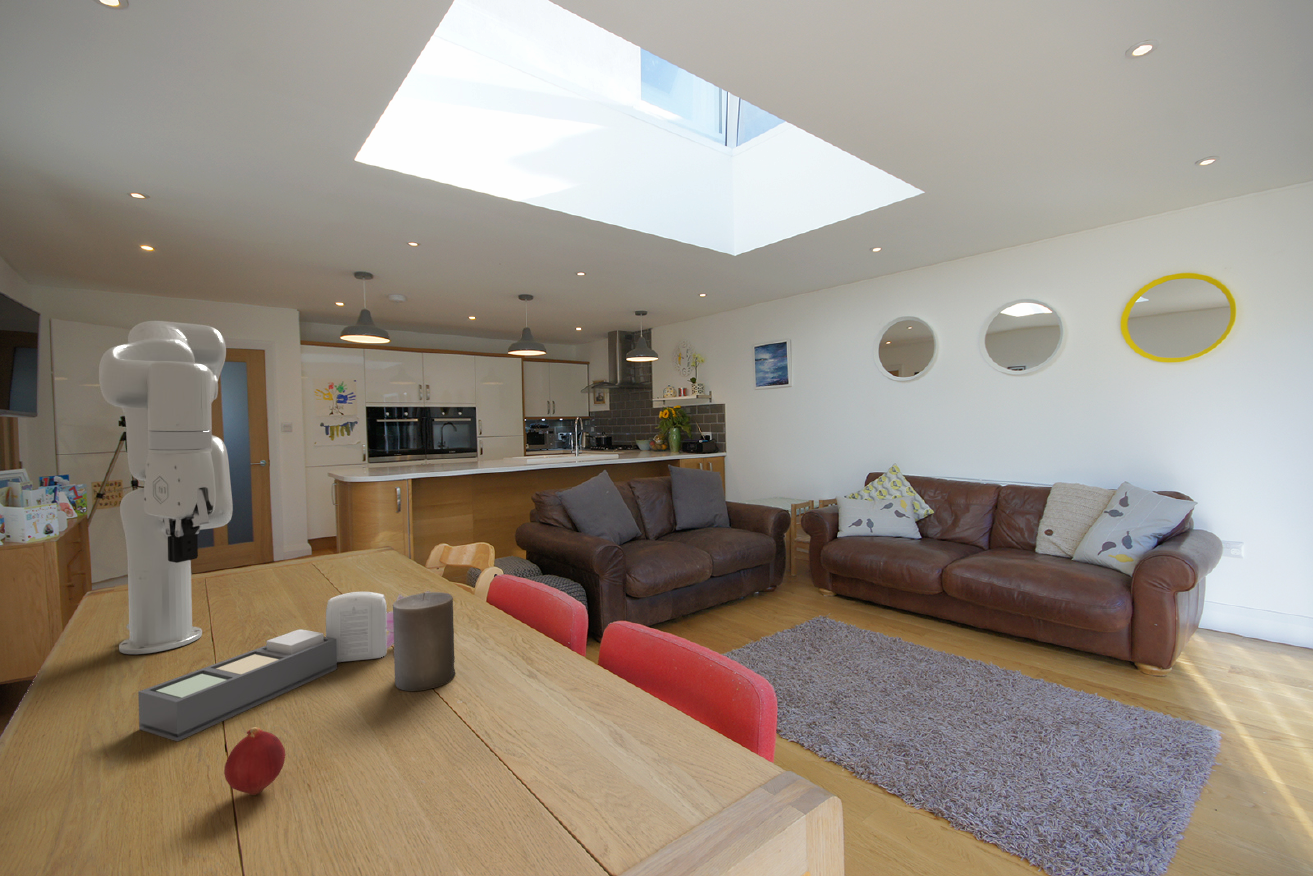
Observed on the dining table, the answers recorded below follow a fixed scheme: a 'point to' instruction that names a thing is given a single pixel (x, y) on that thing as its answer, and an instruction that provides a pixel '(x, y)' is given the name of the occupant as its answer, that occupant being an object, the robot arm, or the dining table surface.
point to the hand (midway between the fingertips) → (183, 559)
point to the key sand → (247, 664)
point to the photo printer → (358, 625)
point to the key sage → (190, 685)
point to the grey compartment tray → (231, 690)
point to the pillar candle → (423, 641)
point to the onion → (254, 762)
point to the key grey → (295, 641)
